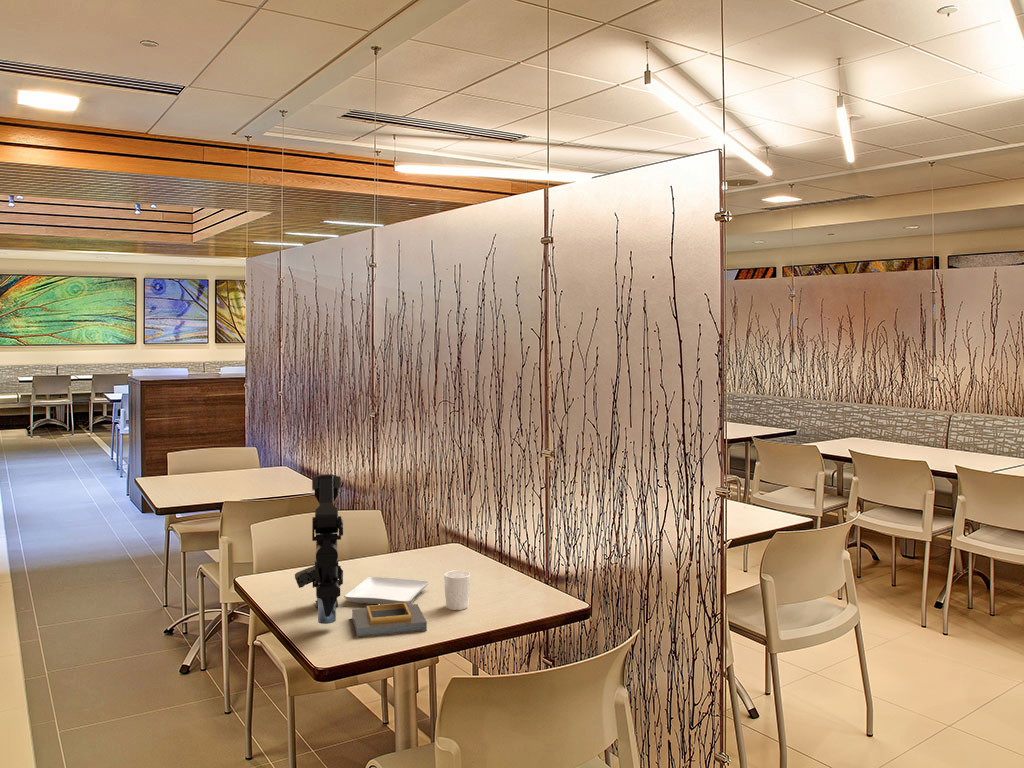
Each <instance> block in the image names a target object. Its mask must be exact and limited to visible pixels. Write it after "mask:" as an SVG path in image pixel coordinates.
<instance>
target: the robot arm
mask: <svg viewBox="0 0 1024 768" xmlns="http://www.w3.org/2000/svg"><path fill="white" fill-rule="evenodd" d="M311 484H312V485H311V486H312V487H311V488H312V489H311V491H314V498H315V499H316V501H317V502H318V505H319V506H318V507H316V509H315V510H314V516H313V517H311V518H312V523H311V524H312V525H311V527H312V531H311V532H312V535H311V536H312V538H311V539H312V542H315V560H314V565H312V566H310V567H307V568H304V569H302V570H300V571H297V572H296V573H295V574H294V579H295V581H296V584H297V586H298V588H299V589H300V588H304V587H305V586H307V585H309V584H311V583H312V588H315V595H316V600H315V602H316V603H315V608H316V609H318V598H320V599H321V600H322V602H323V607H324V612H325V616H326V617H329V616H330V614H331V612H332V609H333V607H334V604H335V602H336V608H337V607H339V602H338V597H341V585H343V583H344V570H343V568H341V567H342V566H341V565H339V559H338V558H339V552H338V541H339V540H342V536H344V520H343V519H342V515H339V509H338V507H337V506H335V504H334V503H335V501H336V500H337V497H338V496H339V491H340V490H341V476H337V474H332V473H327V474H319V475H318V474H317V475H316V476H313V477H312V479H311Z"/></svg>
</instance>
